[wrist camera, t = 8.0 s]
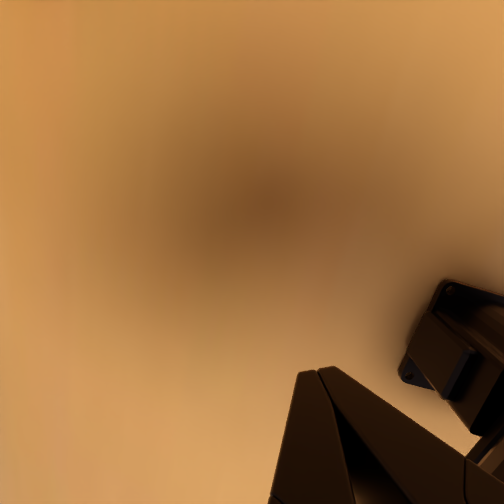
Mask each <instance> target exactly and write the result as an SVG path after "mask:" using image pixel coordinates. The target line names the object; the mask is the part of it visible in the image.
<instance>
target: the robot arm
mask: <svg viewBox="0 0 504 504" xmlns="http://www.w3.org/2000/svg"><path fill="white" fill-rule="evenodd" d="M450 286H452V288H451V290H450V291H449V292H446V289H447V288H448V287H450ZM408 372H411V373H410V374H409V375H407V376H405V375H406V374H407V373H408ZM398 374H399V377H400V378H401V380H402V381H403V382H405V383H407V384H411V385H415V386H419V387H423V388H427V389H431V390H434V391H436V392H437V393H438V395H439V396H440V397H441V398H442V399H443V400H446V402H447V403H448V404H449V405H450V407H451V408H452V409H453V411H454V412H455V413H456V414H457V416H458V417H459V418H460V420H461V421H462V422H463V424H464V425H465V426H466V427H467V429H468V430H469V431H470V433H472V434H474V435H478V436H479V437H480V438H481V439H480V440H479V441H478V442H477V443H476V444H475V446H474V447H473V448H472V449H471V450H470V452H469V453H468V454H467V455H466V456H465V457H464V456H463V455H462V454H461V453H459V452H458V451H456V450H455V449H453V448H452V447H451V446H449V445H448V444H446V443H445V442H443V441H442V440H440V439H439V438H438V437H436V436H435V435H433V434H432V433H430V432H429V431H428V430H426V429H425V428H423V427H422V426H420V425H419V424H418V423H416V422H415V421H413V420H412V419H410V418H409V417H407V416H406V415H405V414H403V413H402V412H400V411H399V410H397V409H396V408H395V407H393V406H392V405H390V404H389V403H387V402H386V401H385V400H383V399H382V398H380V397H379V396H377V395H376V394H374V393H373V392H372V391H370V390H369V389H367V388H366V387H364V386H363V385H362V384H360V383H359V382H357V381H356V380H354V379H353V378H352V377H350V376H349V375H347V374H346V373H344V372H343V371H342V370H340V369H339V368H337V367H335V366H330V367H325V368H319V369H318V370H317V371H316V370H308V371H302V372H299V373H298V374H297V378H296V383H295V387H294V391H293V396H292V400H291V404H290V409H289V413H288V417H287V422H286V426H285V431H284V435H283V439H282V444H281V448H280V452H279V457H278V461H277V466H276V470H275V474H274V479H273V483H272V487H271V492H270V497H269V499H268V504H504V295H502V294H498V293H495V292H492V291H488V290H485V289H481V288H478V287H475V286H471V285H468V284H464V283H461V282H458V281H454V280H450V279H447V280H444V281H442V282H441V283H440V284H439V286H438V288H437V290H436V292H435V294H434V297H433V299H432V301H431V303H430V305H429V307H428V309H427V311H426V313H424V314H423V316H422V319H421V321H420V323H419V325H418V327H417V329H416V331H415V333H414V336H413V338H412V340H411V342H410V344H409V346H408V348H407V354H406V356H405V358H404V360H403V362H402V364H401V366H400V368H399V371H398Z"/></svg>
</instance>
